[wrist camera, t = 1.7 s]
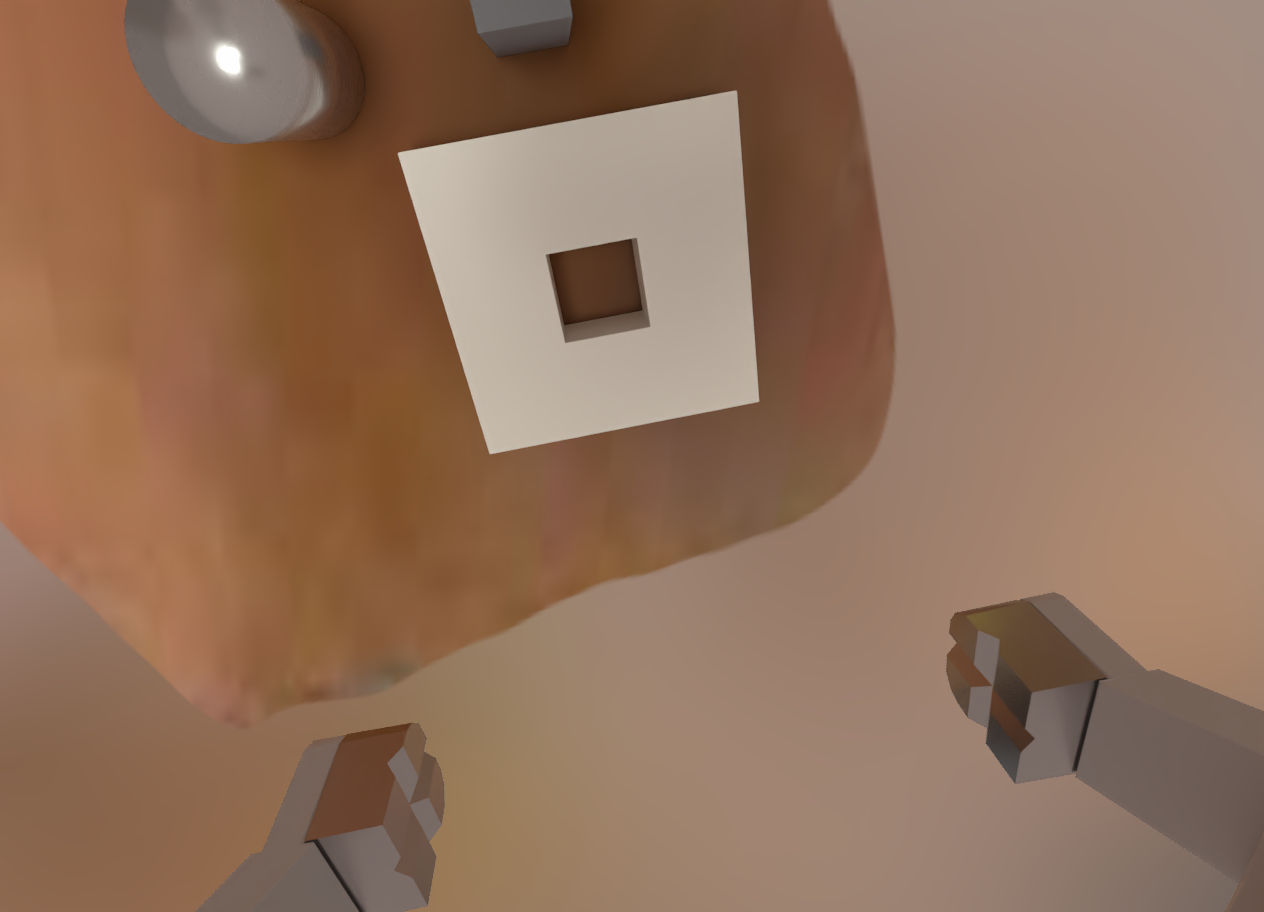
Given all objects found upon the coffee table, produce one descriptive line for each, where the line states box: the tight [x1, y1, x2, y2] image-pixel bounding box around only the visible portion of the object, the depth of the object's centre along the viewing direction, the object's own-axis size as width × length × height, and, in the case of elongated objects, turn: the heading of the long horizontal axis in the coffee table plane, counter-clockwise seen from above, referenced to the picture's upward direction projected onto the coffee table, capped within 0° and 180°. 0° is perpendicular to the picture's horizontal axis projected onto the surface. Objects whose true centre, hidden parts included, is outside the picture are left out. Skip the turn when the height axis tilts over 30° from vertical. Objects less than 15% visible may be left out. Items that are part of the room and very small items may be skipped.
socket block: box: [398, 90, 759, 454], centre depth 35 cm, size 16×16×4 cm
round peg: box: [124, 0, 365, 144], centre depth 26 cm, size 6×6×9 cm
